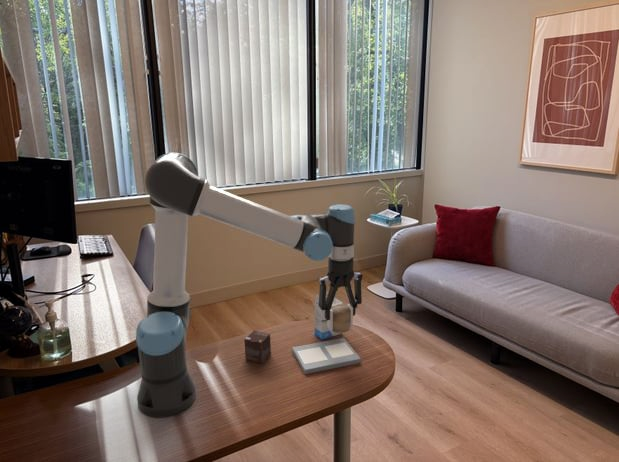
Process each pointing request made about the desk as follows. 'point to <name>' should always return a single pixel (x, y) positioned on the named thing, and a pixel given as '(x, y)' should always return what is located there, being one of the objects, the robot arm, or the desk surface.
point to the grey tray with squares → (325, 355)
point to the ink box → (323, 320)
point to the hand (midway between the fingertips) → (339, 326)
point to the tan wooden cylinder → (341, 319)
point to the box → (257, 346)
